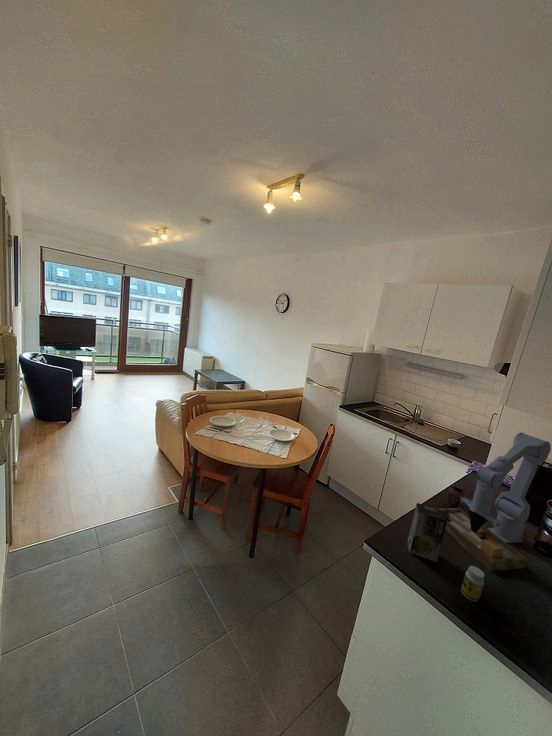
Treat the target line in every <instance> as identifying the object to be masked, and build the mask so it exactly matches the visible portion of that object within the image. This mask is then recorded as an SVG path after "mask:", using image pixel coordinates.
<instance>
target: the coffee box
mask: <svg viewBox="0 0 552 736" xmlns="http://www.w3.org/2000/svg"><path fill="white" fill-rule="evenodd" d="M447 521H448V519H447V518H446V516H445V514H444V511H443V510H440V509H438V508H436V507H433V506H429V505H425V504H423V503H419V502H416V505H415V509H414V514H413V517H412V521H411V525H410V530H409V534H408V537H407V547H408V551H409V552H408V553H410V554H413V555H415V556H418V557H421V558H423V559H424V558H425V559H427V560H430V561H432V562H435V563H436V562H437V563H438V559H439V555H440V552H441V546H442V543H443V539H444V536H445V532H446V531H445V528H446V524H447Z"/></svg>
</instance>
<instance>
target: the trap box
mask: <svg viewBox="0 0 552 736" xmlns="http://www.w3.org/2000/svg"><path fill="white" fill-rule="evenodd" d="M437 509H440V510H443V511H444V514H445V516H446V519H447V524H446V528H445V532H446V533H448V534H449V536H451V537H452V538H453V539H454V540H455V541H457V543H458V544H459V545H461V547H463V548H464V549H465V550H466V551H467V552H468V553H469V554H470V555H472V556H473V557H474V559H476V560H477V561H478V562H479V563H481V565H483V566H484V567H485V568H486V569H487V570H488V571H489V572H493V571H494V572H495V571H496V572H497V571H507V570H517V569H524V568H525V566H526V563H527V561H528V558H527V557H526V556H524V554H521V553H520V552H519V551H517V550H516V549H514V548H513V546H511V545H510V544H509V543H506V542H504V541H503V540H502V539H500V538H499V537H498V536H496V535H495V534H494V533H492V532H491V531H490V530H488V528H487V527H486V526H485V525H484V524H483V525H482V526H481V528H480V529H479V530H478V532H473V531H472V530H471V524H470V518H469V514H468V512H467V511H465V510H464V509H462V507H461V508H448V507H446V508H444V507H443V508H437ZM448 520H449V521H448ZM481 538H484V540H487V539H492V540H494V541H495V542H496V543H497V544H499V545H500V546H501V547H502V548H504V551H503V554H502V557H501V558H500V559H492V558H491V557H489V556H488V555H487V554H486V553H485V552H483V551H482V550H481V549H480V547H481V543H482V540H483V539H481Z"/></svg>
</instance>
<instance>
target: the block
mask: <svg viewBox="0 0 552 736" xmlns="http://www.w3.org/2000/svg"><path fill="white" fill-rule="evenodd" d="M480 549H481V550H482V551H483V552H485V553H486V554H487V555H488V556H489V557H491V558H492V559H500V558H501V557H502V554H503V551H504V548H502V547H501V546H500V545H499V544H497V543H496V542H495V541H494V540H492V539H487V540H486V539H482V543H481V547H480Z"/></svg>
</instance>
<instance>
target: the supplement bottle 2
mask: <svg viewBox="0 0 552 736" xmlns="http://www.w3.org/2000/svg"><path fill="white" fill-rule="evenodd" d="M484 579H485V573H484V572H483V571H482V569H480V568H479V567H477V566H474V565H469V566H468V568H467V570H466V571H465V573H464V577H463V581H462V584H461V588H460V591H461V594H462V595H463V596H464V597H465V598H466V599H468V600H469V601H471V602H479V601H480V598H481V595H482V591H483V588H484V585H485V582H484Z"/></svg>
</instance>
